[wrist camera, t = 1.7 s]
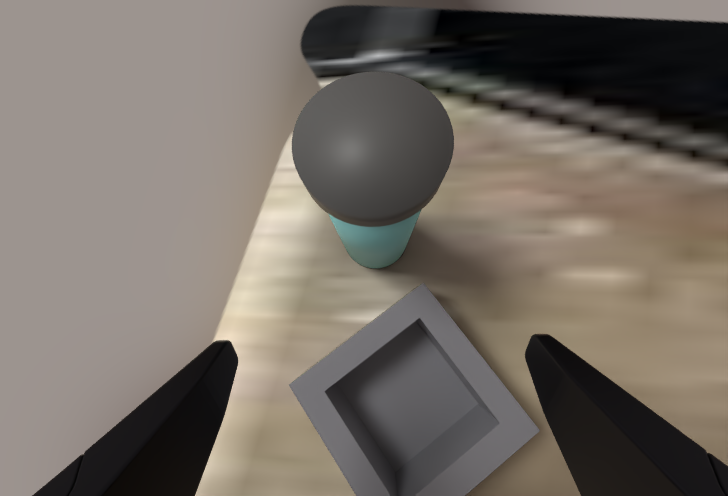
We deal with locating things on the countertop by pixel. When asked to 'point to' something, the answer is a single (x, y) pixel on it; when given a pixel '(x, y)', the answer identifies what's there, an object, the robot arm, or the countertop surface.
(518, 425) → the socket block
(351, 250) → the peg
